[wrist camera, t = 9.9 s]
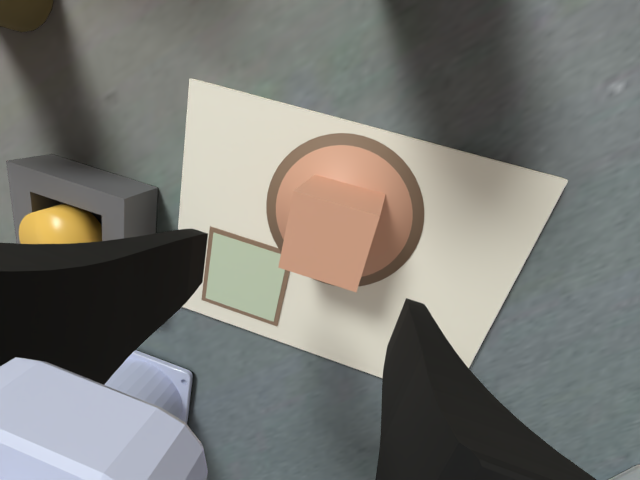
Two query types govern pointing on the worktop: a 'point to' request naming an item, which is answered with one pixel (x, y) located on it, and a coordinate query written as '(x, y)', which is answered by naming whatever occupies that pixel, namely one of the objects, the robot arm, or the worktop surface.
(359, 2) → the worktop surface
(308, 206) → the terracotta crayon block
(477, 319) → the picture board
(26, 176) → the button housing
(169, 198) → the worktop surface
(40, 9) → the pepper mill
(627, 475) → the ceramic cup
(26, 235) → the button
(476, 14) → the worktop surface
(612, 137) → the worktop surface
